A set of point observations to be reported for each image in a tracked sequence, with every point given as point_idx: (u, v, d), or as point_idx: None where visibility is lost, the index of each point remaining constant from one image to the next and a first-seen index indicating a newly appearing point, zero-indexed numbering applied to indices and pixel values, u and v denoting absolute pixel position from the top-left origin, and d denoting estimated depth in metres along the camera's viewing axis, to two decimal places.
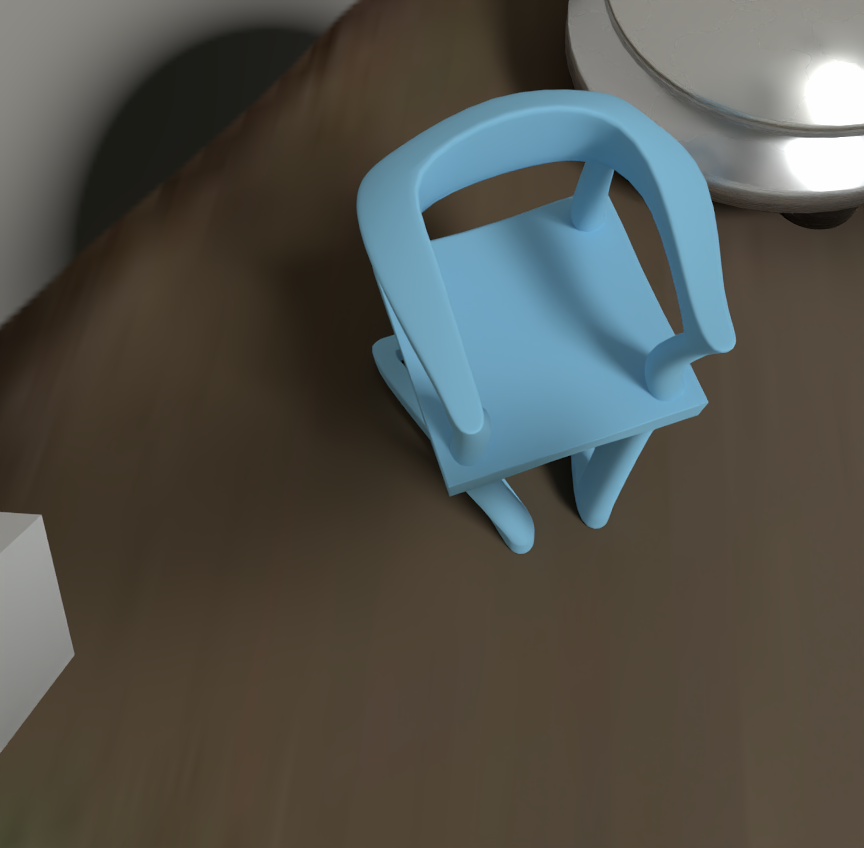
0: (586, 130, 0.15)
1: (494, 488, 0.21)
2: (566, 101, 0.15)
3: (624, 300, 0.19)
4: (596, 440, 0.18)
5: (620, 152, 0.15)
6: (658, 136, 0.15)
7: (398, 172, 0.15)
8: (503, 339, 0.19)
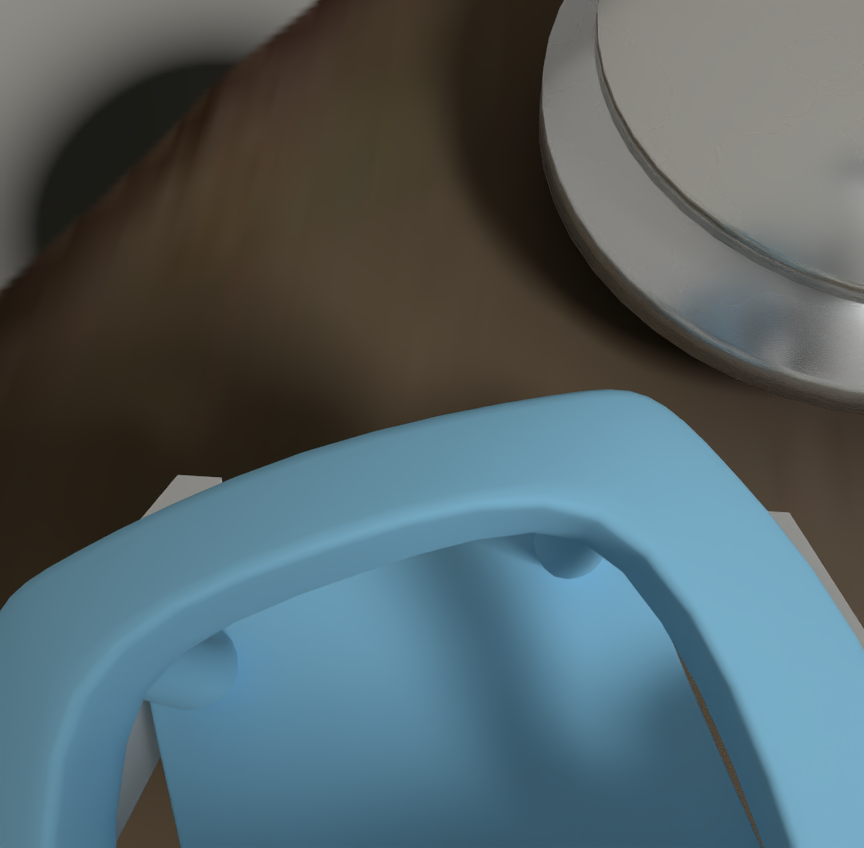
0: (556, 525, 0.06)
1: None
2: (498, 467, 0.06)
3: (645, 736, 0.09)
4: None
5: (646, 589, 0.06)
6: (750, 559, 0.06)
7: (40, 656, 0.06)
8: (392, 827, 0.09)
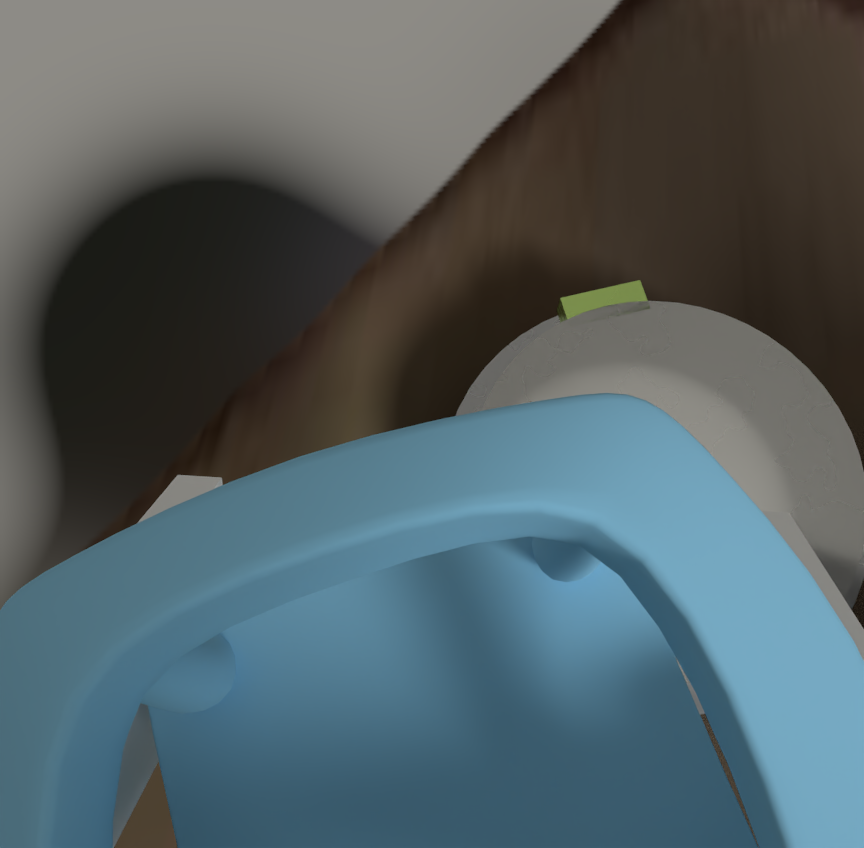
0: (553, 529, 0.06)
1: None
2: (495, 471, 0.05)
3: (643, 739, 0.09)
4: None
5: (643, 593, 0.06)
6: (748, 562, 0.06)
7: (36, 662, 0.06)
8: (390, 829, 0.09)
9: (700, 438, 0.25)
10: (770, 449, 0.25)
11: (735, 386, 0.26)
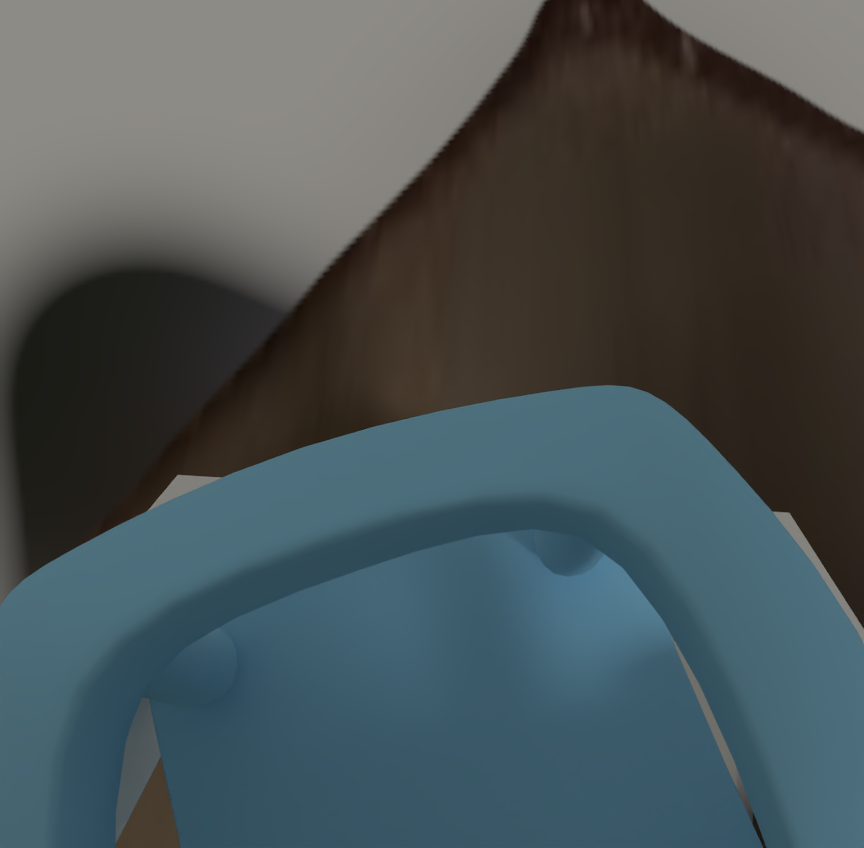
0: (556, 521, 0.06)
1: None
2: (498, 462, 0.05)
3: (645, 733, 0.09)
4: None
5: (646, 584, 0.06)
6: (751, 553, 0.06)
7: (39, 652, 0.06)
8: (392, 825, 0.09)
9: None
10: None
11: None
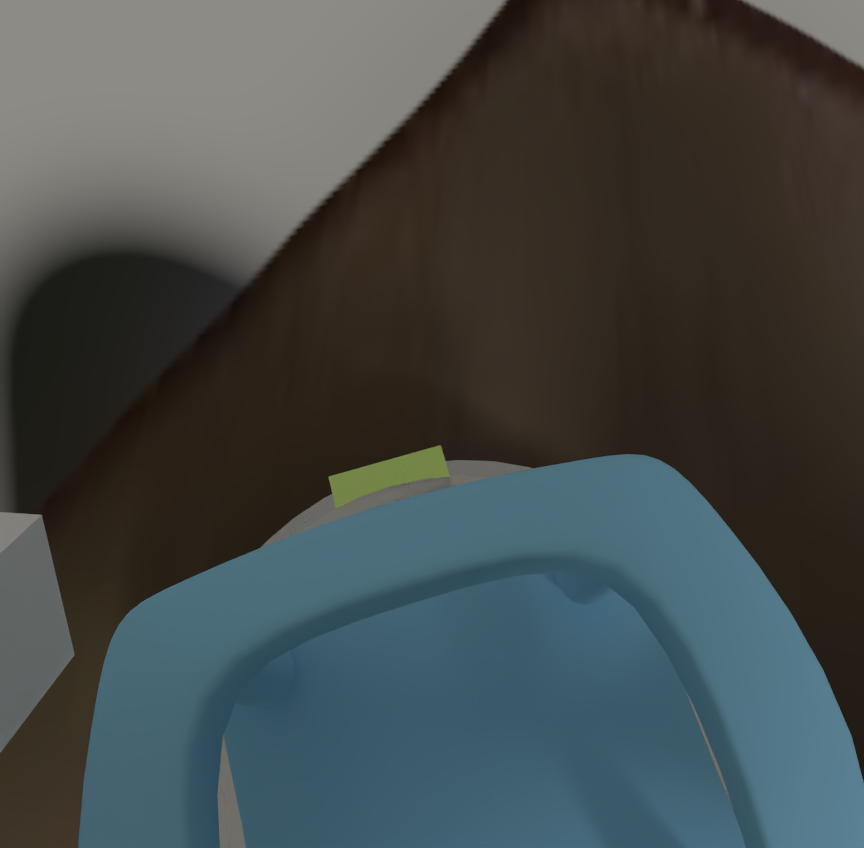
0: (581, 569, 0.07)
1: None
2: (537, 524, 0.07)
3: (648, 743, 0.10)
4: None
5: (654, 625, 0.07)
6: (739, 603, 0.07)
7: (165, 664, 0.07)
8: (426, 814, 0.10)
9: None
10: None
11: None
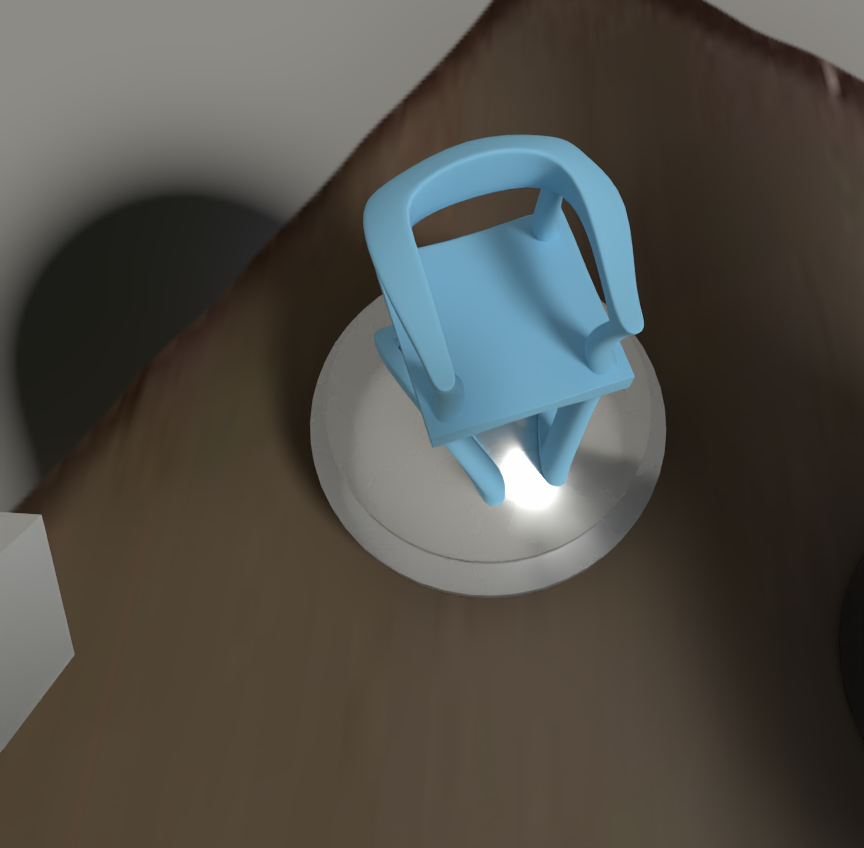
0: (537, 166, 0.20)
1: (470, 447, 0.25)
2: (521, 144, 0.20)
3: (573, 296, 0.24)
4: (547, 404, 0.23)
5: (562, 183, 0.20)
6: (591, 172, 0.20)
7: (394, 195, 0.20)
8: (476, 325, 0.23)
9: None
10: None
11: None
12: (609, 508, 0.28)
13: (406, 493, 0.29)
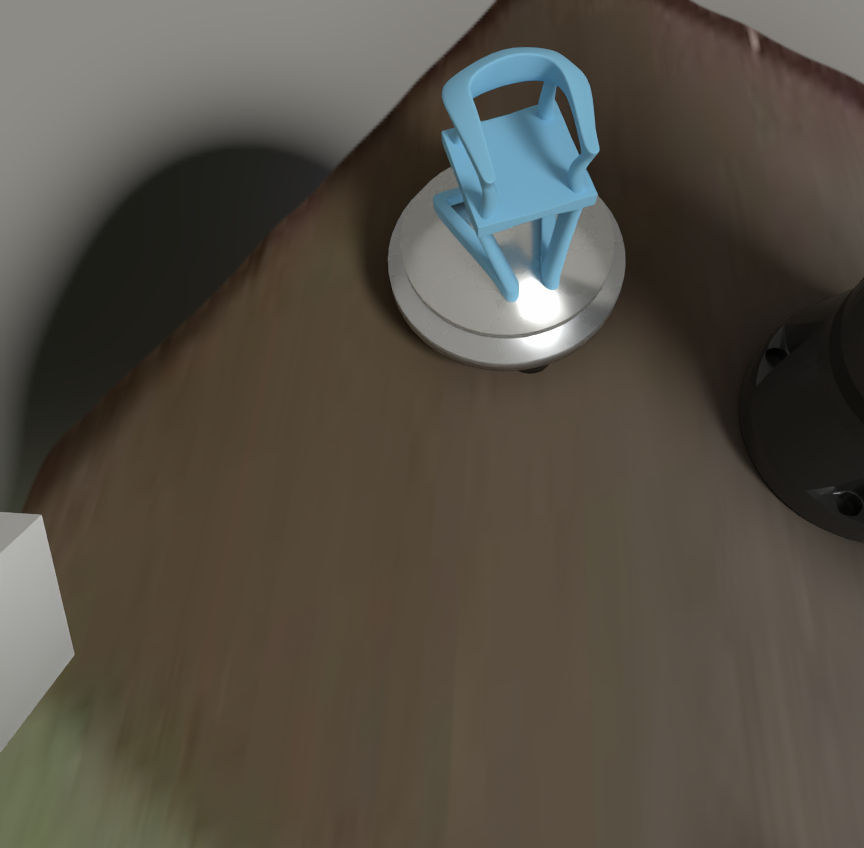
0: (541, 64, 0.36)
1: (498, 250, 0.41)
2: (532, 51, 0.36)
3: (562, 151, 0.40)
4: (545, 210, 0.38)
5: (555, 74, 0.36)
6: (571, 67, 0.36)
7: (461, 80, 0.36)
8: (504, 167, 0.39)
9: None
10: None
11: None
12: (586, 302, 0.44)
13: (455, 295, 0.45)
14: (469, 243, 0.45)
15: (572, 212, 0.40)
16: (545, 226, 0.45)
